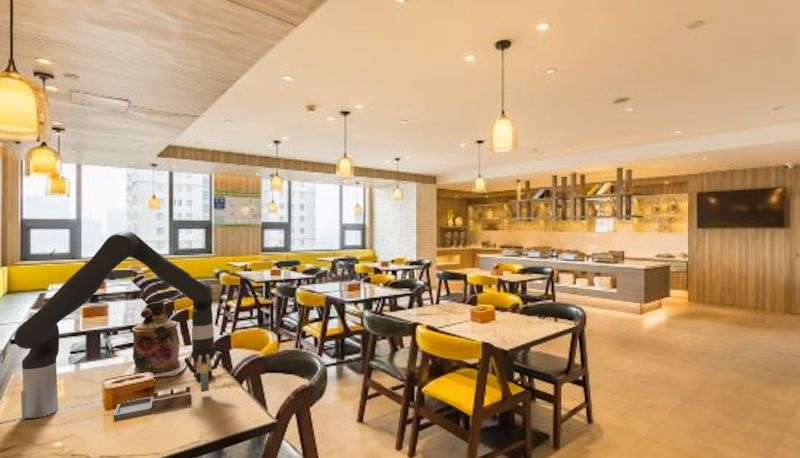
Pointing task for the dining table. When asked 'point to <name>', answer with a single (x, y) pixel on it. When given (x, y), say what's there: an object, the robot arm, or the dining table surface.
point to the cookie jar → (156, 344)
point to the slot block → (171, 400)
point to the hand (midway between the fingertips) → (204, 381)
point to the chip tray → (134, 408)
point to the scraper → (204, 377)
